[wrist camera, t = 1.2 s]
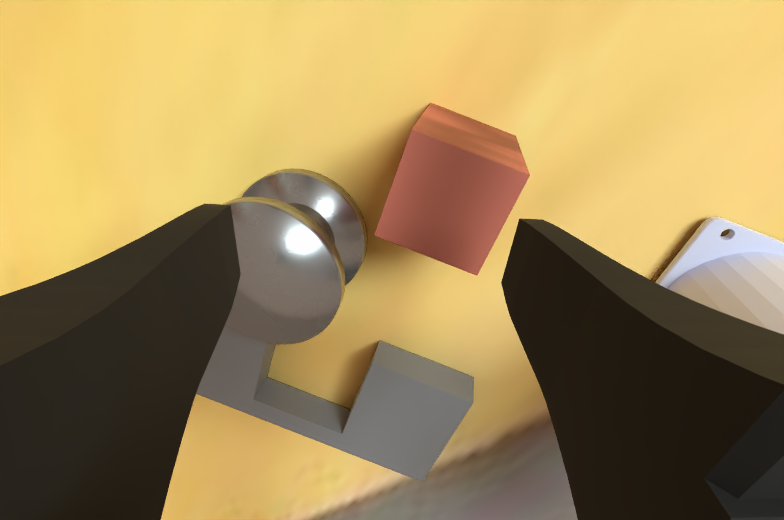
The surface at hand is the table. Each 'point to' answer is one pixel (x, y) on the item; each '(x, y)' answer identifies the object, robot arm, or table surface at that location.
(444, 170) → the block
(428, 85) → the table surface
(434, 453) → the notched board
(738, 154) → the table surface
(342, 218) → the bobbin
